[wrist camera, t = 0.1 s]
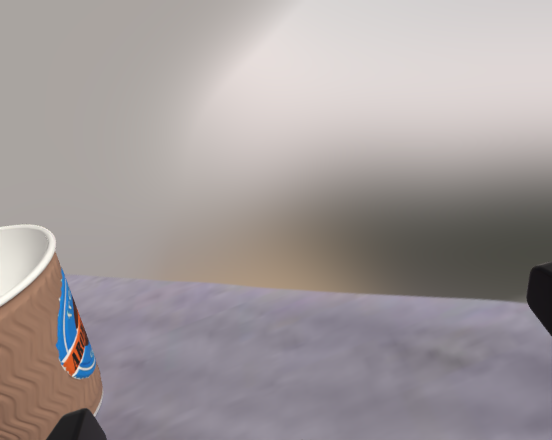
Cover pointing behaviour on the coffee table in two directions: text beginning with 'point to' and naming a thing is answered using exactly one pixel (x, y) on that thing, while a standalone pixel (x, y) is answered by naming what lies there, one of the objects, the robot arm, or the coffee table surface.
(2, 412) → the coffee cup
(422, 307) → the coffee table surface
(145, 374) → the coffee table surface
